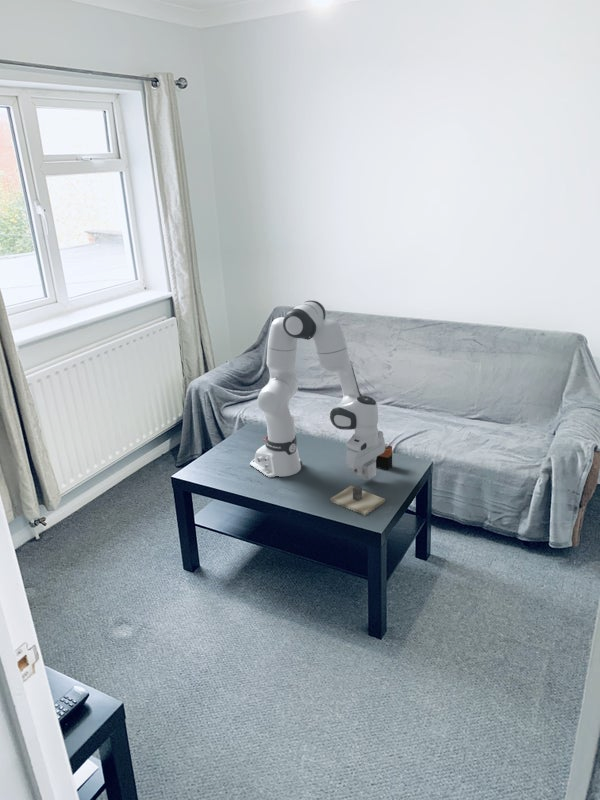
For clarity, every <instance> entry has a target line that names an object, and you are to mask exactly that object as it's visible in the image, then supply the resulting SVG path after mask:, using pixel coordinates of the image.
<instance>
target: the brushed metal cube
mask: <svg viewBox="0 0 600 800" xmlns="http://www.w3.org/2000/svg"><path fill="white" fill-rule="evenodd" d="M362 469H364V474H362V475H360V474H358V469H357V471H356V477H357V478H360V479H362V480H365V481H369V480H371V479H373V478H374V477H376V475H377V467H376V461H373V460H370V461H369V462H367V463H365V464H364V465H363V467H362Z"/></svg>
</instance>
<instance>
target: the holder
mask: <svg viewBox="0 0 600 800" xmlns="http://www.w3.org/2000/svg"><path fill="white" fill-rule="evenodd" d="M329 502H331V503H334V504H336V505H338V506H340V505H341V507H343V508H345V507H346V508H345V509H348V510H350V509H351V511H352V510H353V512H355V511H356V512H355V513H357V512H358V513H357V514H360V513H361V515H362V514H363V515H362V516H364V515H365V516H367V515H368V514H370V513H372V512H373V511H374V510H376V509H377V508H378V507H380V506H381V505H383V504H384V503H386V499H385V498H384V497H381V496H378V495H376V494H373V493H371V492H368V491H365V490H363V487H361V486H359V485H355V486H352V485H349V486H348V487H346V488H345V489H344V490H342V491H340V492H338V493H337V494H336V495H334V496H332V497H331V498H330V501H329ZM375 508H376V509H375ZM372 510H373V511H372ZM369 512H370V513H369ZM366 514H367V515H366Z"/></svg>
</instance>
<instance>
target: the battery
mask: <svg viewBox="0 0 600 800" xmlns="http://www.w3.org/2000/svg"><path fill="white" fill-rule="evenodd" d="M392 466H393V446H392V445H389V443H385V451H384V453H382V454H380V455H379V456H377V459H376V469H377V468H378V469H381V468H382V469H383V470H386V471H388V470H390V469H391V468H392Z"/></svg>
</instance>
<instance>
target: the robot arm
mask: <svg viewBox="0 0 600 800" xmlns="http://www.w3.org/2000/svg"><path fill="white" fill-rule="evenodd" d="M326 314H327V313H326V309H325V307H324V305H323V304H322V303H320V302H319V301H317V300H306V301H304V302H302V303H300V304H298V305H296V306H295V307H293V308H292V309H290V310H289V311H288V312H287V313H286V314H285V316H281V317H276V318H275V319H273V321H272V322H271V324H270V327H269V332H268V338H267V347H266V348H267V349H266V366H267V368H268V370H269V372H268V373H269V380H268V382H267V384H265V386H264V387H262V388H261V390H260V392H259V393H258V396H257V398H256V399H257V403H256V404H257V407H258V408H259V409H260V410H261V411H262V413H263V415H264V418H265V423H266V428H267V429H266V430H267V436H266V437H264V438H263V441H265V444H263V445H262V446H261V447H259V448H258V449H257V450H256V451H255V455H254V458H253V459H252V460H251V461H250V463H249V466H250V465H251V466H253V467H254V468H256V469H257V470H259V471H260V472H262V473H263V474H264V475H263V474H262V473H261V474H262V475H263V476H265V475H266V476H268V477H267V478H274V477H275V476H279V477H280V478H281V477H290V476H293V475H296V474H298V473H299V472H300V471H301V469H302V465H301V458H300V456H299V450H298V438H297V435H296V427H295V424H296V423H295V419H294V418H295V417H294V416H293V415H292V414H291V411H290V402H291V401H292V399H293V398H294V397H295V395H296V394H297V391H298V389H299V381H298V379H297V374H296V358H297V357H296V355H297V344H298V343H297V342H298V339H301V340H307V341H309V340H311V339H312V340H313V341H314V344H315V348H316V352H317V358H318V361H319V365H320V367H321V369H323V370H324V371H326V372H327V373H330V374H335V375H336V376H337V377H338V380H339V383H340V386H341V390H342V399H341V401H340V402H339V403H337V405H335V406H334V407H333V408H332V409H331V411H330V413H329V420H330V422H331V424H332V425H333V427H335V428H336V429H338V430H341V431H342V430H343V431H344V430H345V431H349V430H354V433H353V434H352V436H351V437H350V438H349V440H348V441H346V443H345V447H346V448H347V449H346V453H345V462H346V464H345V465H346V467H347V468H348V469H351V470H353V471H354V470H355V469H358V474H360V475H362V474H364V469H362V467H363V465H364V464H365V463H367V462H369V461H370V460H373V461H376V459H377V456H379V455H380V454H382V453H384V451H385V444H386V440H385V437H384V432H383V431H381V430H379V428H378V423H379V411H378V410H379V409H378V403H377V401H376V400H375V399H374V398H373V397H371V396H367V395H362V394H361V391H360V388H359V385H358V382H357V377H356V375H355V370H354V367H353V364H352V361H351V360H350V356H349V351H348V346H347V342H346V338H345V335H344V332H343V329H342V326H341V325H340V323H339V322H338V321H337V320H335V319H332V318H330V319H325V318H326ZM253 461H254V462H253ZM251 466H250V467H251ZM253 467H252V468H253ZM254 468H253V469H254ZM256 469H255V470H256ZM257 470H256V471H257ZM259 471H258V472H259ZM260 472H259V473H260ZM266 476H265V477H266ZM275 478H276V477H275Z"/></svg>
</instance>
